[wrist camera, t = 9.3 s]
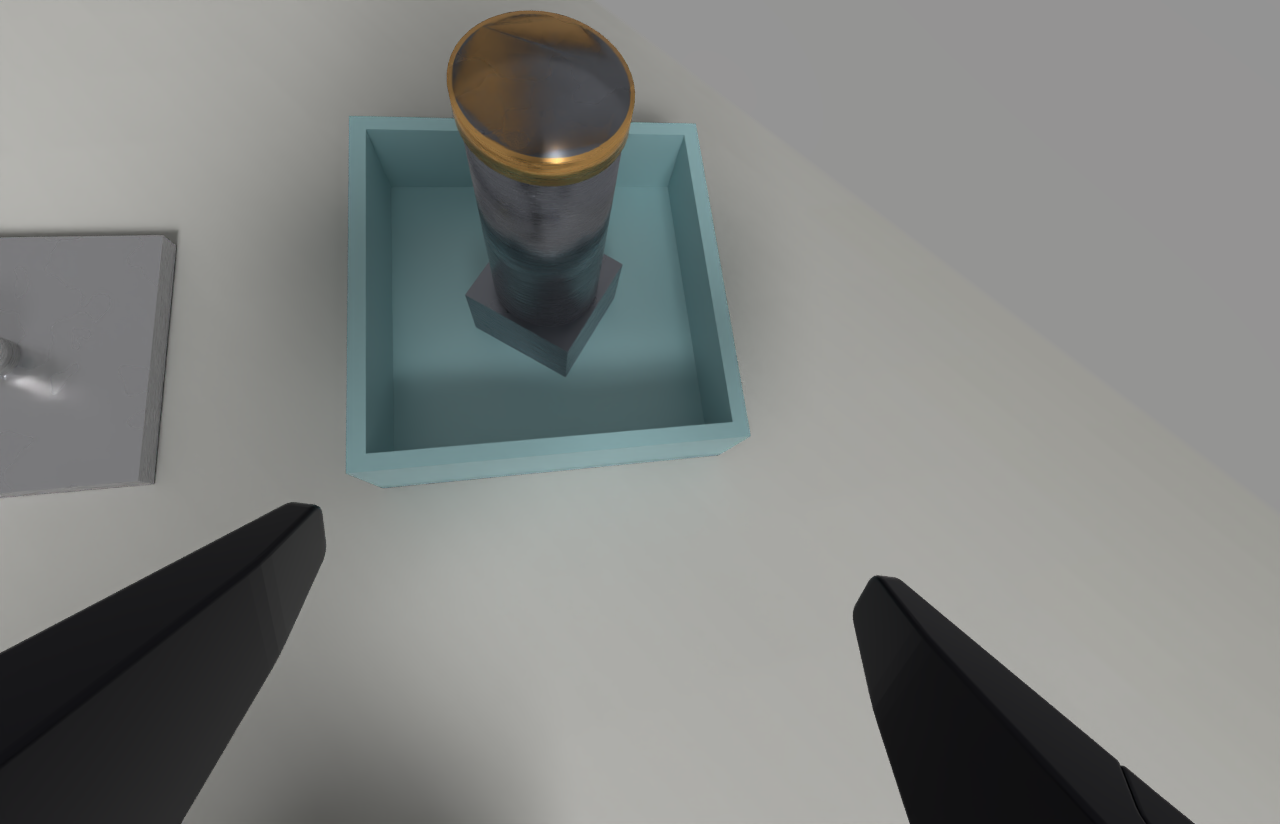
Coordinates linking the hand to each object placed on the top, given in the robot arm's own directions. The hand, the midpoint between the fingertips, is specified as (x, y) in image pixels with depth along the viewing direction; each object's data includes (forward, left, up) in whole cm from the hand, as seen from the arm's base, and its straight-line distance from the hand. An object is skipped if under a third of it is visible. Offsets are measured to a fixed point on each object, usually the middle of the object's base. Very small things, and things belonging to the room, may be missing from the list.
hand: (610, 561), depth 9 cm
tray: (+11, 0, -14) cm, 17 cm away
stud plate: (+10, +20, -14) cm, 26 cm away
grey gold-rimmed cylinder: (+11, 0, -13) cm, 17 cm away
